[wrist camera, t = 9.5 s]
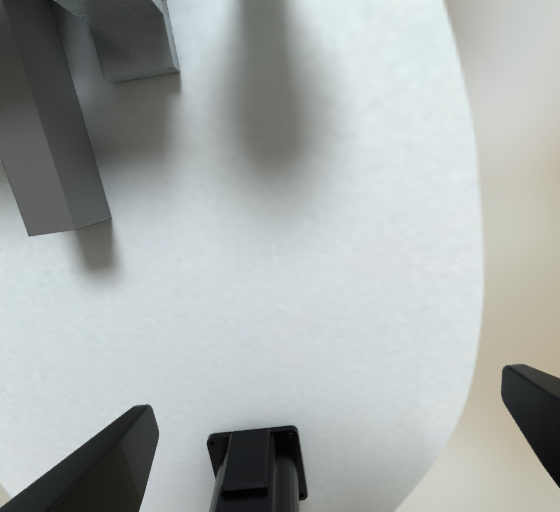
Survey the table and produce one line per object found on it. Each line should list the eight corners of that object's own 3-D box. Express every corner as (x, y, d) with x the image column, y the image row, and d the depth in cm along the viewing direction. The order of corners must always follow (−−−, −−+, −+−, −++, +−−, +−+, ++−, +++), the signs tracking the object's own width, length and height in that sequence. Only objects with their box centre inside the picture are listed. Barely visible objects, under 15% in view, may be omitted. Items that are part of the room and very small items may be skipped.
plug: (128, 215, 19) (76, 233, 14) (57, 225, 20) (-18, 246, 15) (31, -142, 15) (-91, -288, 10) (-59, -123, 15) (-220, -256, 10)
